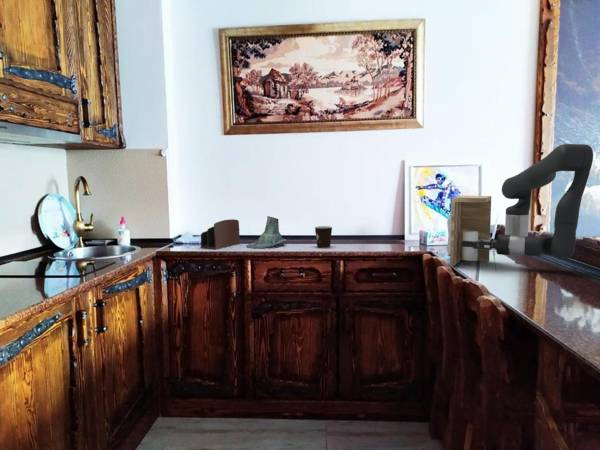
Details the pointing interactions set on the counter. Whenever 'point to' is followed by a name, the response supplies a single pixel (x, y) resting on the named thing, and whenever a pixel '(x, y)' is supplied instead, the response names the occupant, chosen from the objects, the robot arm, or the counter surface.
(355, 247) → the counter surface
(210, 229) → the letter holder
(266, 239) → the tree stump
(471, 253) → the white upright cylinder
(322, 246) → the coffee mug
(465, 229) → the cubby
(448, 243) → the plastic bottle
